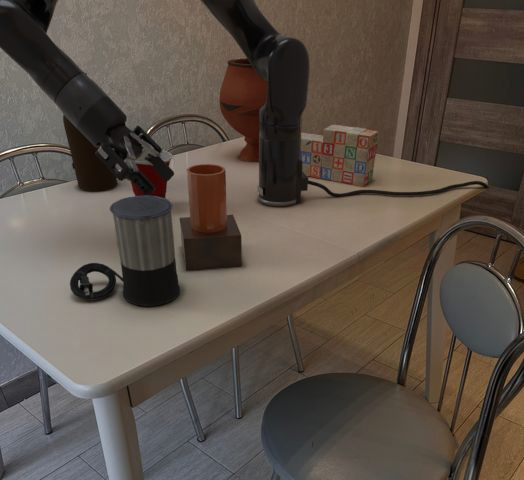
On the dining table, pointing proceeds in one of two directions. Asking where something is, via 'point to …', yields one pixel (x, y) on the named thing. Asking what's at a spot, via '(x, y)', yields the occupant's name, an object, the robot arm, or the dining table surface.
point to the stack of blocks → (340, 154)
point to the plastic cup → (153, 176)
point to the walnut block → (211, 246)
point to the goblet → (243, 103)
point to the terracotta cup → (207, 197)
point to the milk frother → (138, 254)
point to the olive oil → (87, 161)
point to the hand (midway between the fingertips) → (161, 184)
